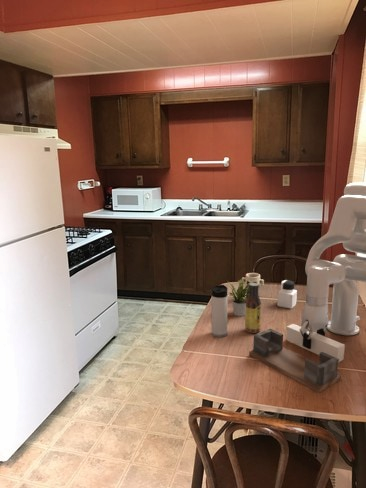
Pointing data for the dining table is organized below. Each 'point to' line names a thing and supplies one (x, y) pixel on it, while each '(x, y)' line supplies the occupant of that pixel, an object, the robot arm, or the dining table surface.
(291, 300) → the medicine bottle
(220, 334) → the travel mug
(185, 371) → the dining table surface
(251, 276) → the character mug
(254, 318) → the sauce bottle
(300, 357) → the end cap frame
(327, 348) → the slat
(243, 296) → the house plant
